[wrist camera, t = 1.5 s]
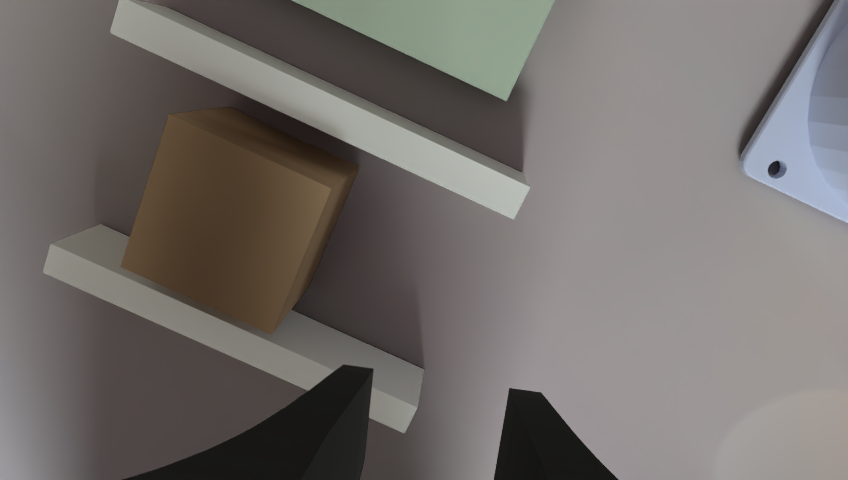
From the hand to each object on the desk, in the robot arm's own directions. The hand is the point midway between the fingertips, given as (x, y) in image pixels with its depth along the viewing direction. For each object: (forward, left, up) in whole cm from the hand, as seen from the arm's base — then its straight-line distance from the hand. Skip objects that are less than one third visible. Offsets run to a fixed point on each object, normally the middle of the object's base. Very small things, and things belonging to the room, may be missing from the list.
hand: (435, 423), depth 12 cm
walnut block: (+7, 0, -9) cm, 11 cm away
